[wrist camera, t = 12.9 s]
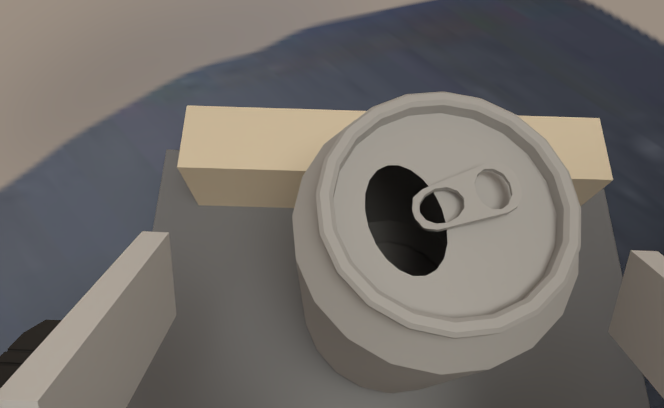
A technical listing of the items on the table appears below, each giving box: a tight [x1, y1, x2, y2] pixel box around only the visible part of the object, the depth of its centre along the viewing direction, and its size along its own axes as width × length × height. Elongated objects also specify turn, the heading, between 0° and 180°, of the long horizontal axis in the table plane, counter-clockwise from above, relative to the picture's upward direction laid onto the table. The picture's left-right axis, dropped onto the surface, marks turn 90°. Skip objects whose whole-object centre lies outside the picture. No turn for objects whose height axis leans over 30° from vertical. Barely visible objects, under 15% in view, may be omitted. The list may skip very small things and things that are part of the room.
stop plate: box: [126, 106, 650, 408], centre depth 20 cm, size 22×22×5 cm
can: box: [292, 92, 581, 393], centre depth 17 cm, size 8×8×12 cm
